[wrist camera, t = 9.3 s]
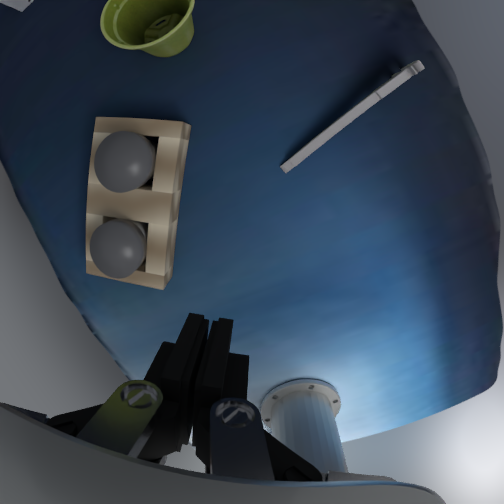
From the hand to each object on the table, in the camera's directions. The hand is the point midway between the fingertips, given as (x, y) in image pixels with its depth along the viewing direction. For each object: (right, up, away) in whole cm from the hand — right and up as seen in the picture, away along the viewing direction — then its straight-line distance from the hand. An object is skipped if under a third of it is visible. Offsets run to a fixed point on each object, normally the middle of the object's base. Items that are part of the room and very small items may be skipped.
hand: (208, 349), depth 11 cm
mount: (-11, +10, +23) cm, 27 cm away
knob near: (-11, +14, +21) cm, 27 cm away
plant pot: (-8, +29, +17) cm, 34 cm away
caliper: (+13, +19, +20) cm, 30 cm away
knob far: (-12, +6, +24) cm, 27 cm away
